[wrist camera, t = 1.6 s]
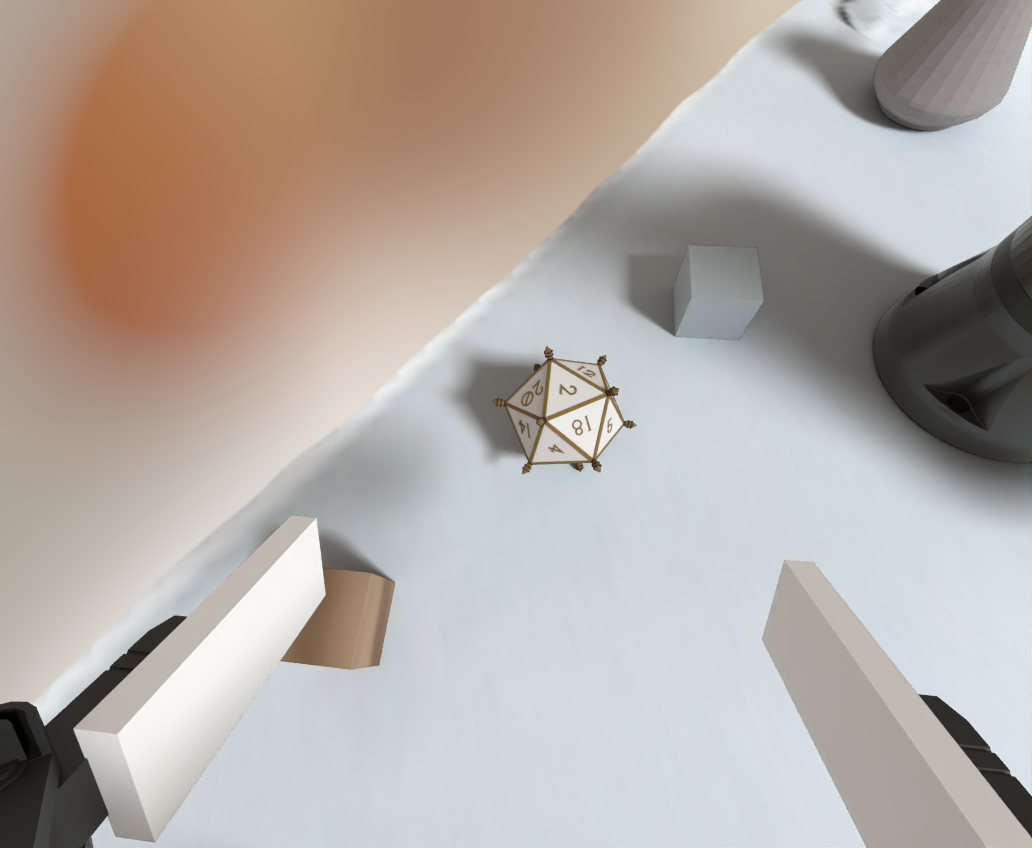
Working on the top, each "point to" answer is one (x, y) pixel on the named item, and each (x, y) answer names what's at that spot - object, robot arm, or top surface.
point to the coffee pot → (953, 63)
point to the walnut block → (345, 622)
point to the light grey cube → (717, 292)
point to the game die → (565, 413)
